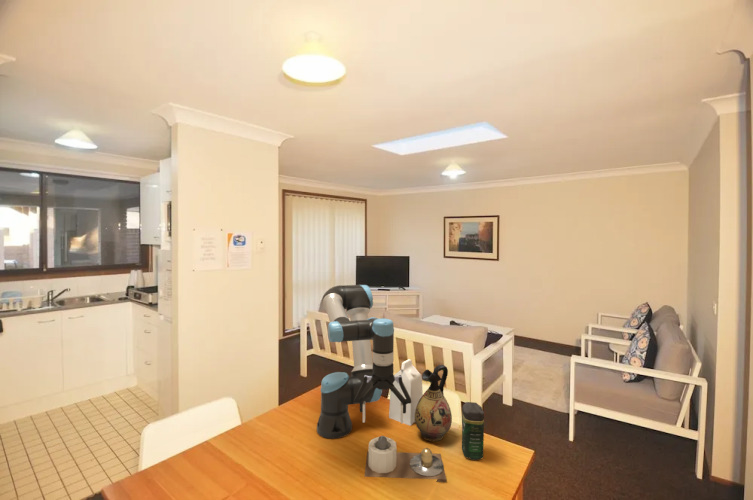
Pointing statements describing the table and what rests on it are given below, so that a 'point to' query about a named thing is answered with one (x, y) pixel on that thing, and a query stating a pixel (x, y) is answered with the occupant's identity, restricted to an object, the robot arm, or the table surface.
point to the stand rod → (382, 443)
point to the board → (403, 468)
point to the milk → (414, 389)
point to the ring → (382, 456)
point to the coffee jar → (472, 431)
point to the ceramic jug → (433, 407)
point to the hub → (426, 464)
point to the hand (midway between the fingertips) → (382, 421)
